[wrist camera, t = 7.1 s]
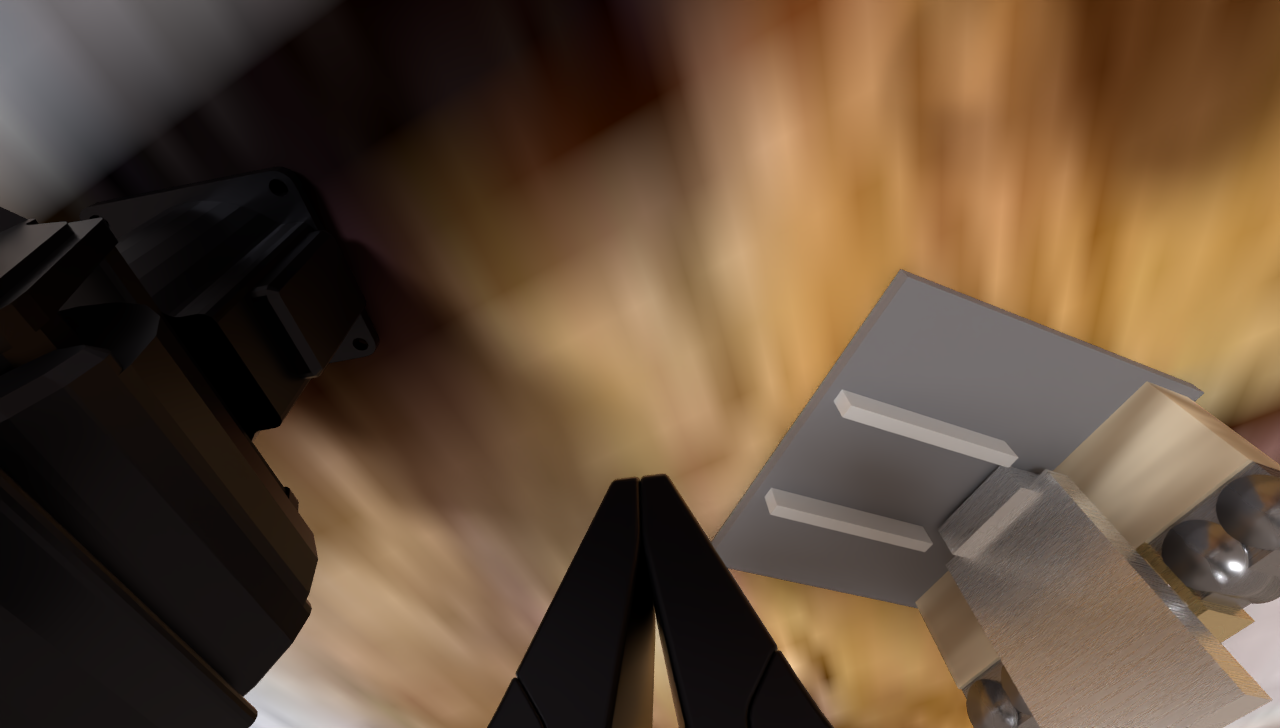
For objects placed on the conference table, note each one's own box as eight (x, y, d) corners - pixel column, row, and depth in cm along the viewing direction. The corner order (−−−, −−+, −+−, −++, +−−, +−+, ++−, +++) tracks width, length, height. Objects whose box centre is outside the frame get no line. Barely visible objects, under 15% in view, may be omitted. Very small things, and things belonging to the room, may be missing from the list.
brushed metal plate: (924, 542, 28) (1063, 789, 20) (1018, 446, 25) (1231, 691, 17) (1023, 567, 30) (1190, 804, 22) (1123, 480, 27) (1365, 718, 18)
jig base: (703, 553, 29) (709, 581, 28) (900, 269, 21) (921, 290, 20) (948, 605, 33) (963, 633, 32) (1192, 384, 25) (1226, 408, 24)
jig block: (914, 602, 31) (958, 688, 28) (1146, 381, 24) (1249, 459, 20) (950, 610, 32) (998, 695, 28) (1188, 397, 24) (1294, 475, 21)
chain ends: (955, 690, 28) (988, 757, 26) (1254, 455, 20) (1340, 520, 18) (995, 697, 28) (1030, 763, 26) (1299, 471, 21) (1388, 536, 18)
